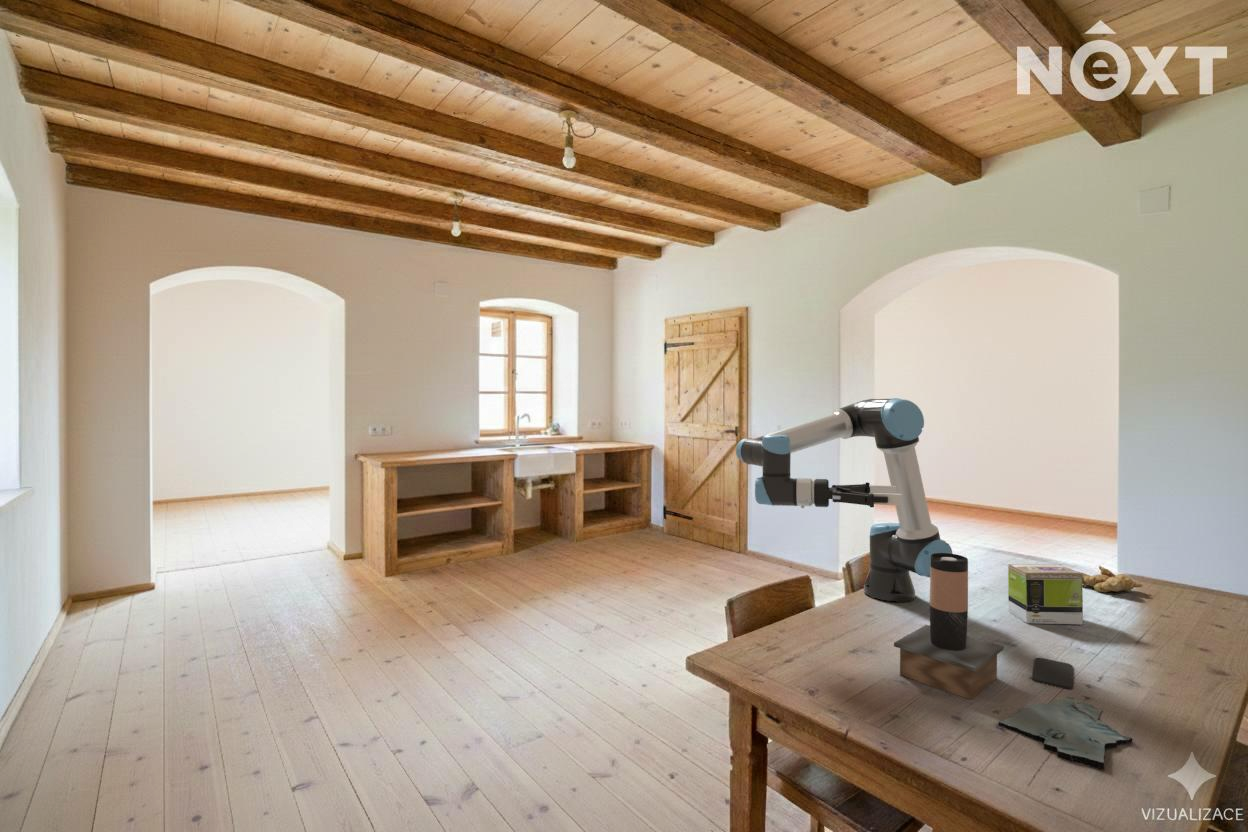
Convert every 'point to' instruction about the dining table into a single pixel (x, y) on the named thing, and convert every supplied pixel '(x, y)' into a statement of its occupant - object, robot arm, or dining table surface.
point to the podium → (949, 663)
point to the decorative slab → (1067, 730)
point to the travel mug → (948, 601)
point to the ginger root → (1109, 581)
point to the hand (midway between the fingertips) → (899, 495)
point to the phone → (1053, 673)
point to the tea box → (1045, 593)
